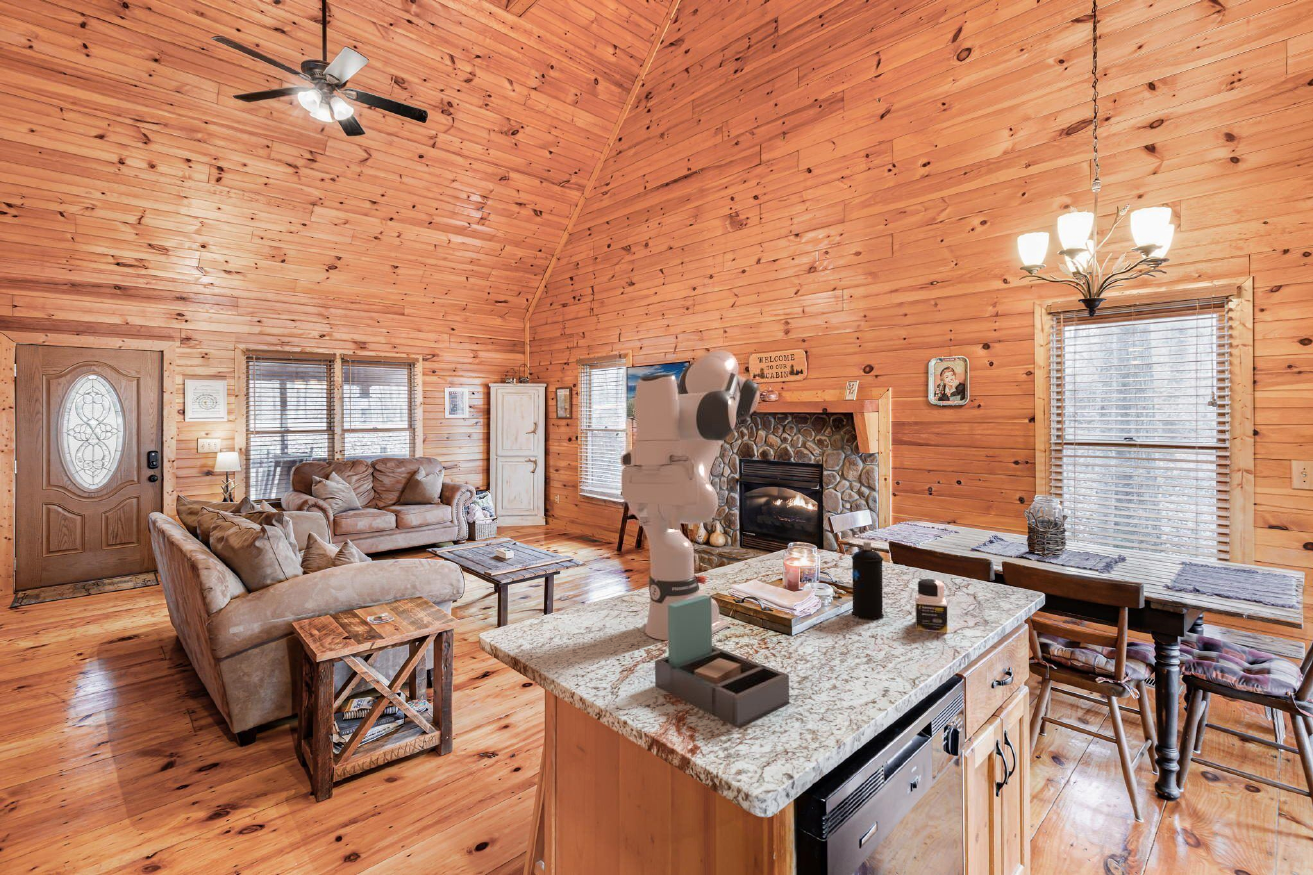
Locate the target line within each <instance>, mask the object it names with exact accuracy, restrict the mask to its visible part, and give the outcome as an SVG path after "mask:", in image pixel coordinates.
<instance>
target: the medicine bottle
mask: <svg viewBox="0 0 1313 875" xmlns="http://www.w3.org/2000/svg"><path fill="white" fill-rule="evenodd" d="M914 605H915V607H914V608H915V610H914V611H915V612H914V613H915V619H914V620H915V629H916V630H917V631H924V632H932V633H940V634H941V633H942V634H943V633H944V634H947V633H948V603H947V601H946V597H945V583H943V582H942V581H940V580H937V579H933V578H924V579H920V580H918V581H917V594H916V595H915V604H914Z"/></svg>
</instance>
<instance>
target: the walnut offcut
mask: <svg viewBox="0 0 1313 875" xmlns="http://www.w3.org/2000/svg"><path fill="white" fill-rule="evenodd" d="M694 675H695V676H697V677H699V678H702V679H704V680H706V681H708V682H711V683H713V684H715V685H716V684H719V683H721V682H724V681H726V680H728V679H731V678H733V677H736V676H738V675H741V664H737V663H734V662H731V661H728V660H724V659H721V658H718V659H716V660H714V661H712V662H710V663H708V664H707V665H705V666H703V667H701V668H699V669H697V670H695V671H694Z"/></svg>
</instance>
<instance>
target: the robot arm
mask: <svg viewBox="0 0 1313 875" xmlns="http://www.w3.org/2000/svg"><path fill="white" fill-rule="evenodd" d="M739 366H740V365H739V363H738V360H737V358H736V357H735V356H734V354H733V353H732V352H730V351H727V350H724V349H717V350H713V351H709V352H708V353H706V354H703V355H702V356H701V357H699V358H698V359H697V360H696V361H695V362H693V363H692V362H691V363H690V364H688V365H686V366H685V368H684V370H683V371H682V372H681V374H680V376H679V380H678V384H677V378H676V375H674V374H671V373H661V374H651V375H644V376H641V377H640V378H639V379H638V381H637V384H636V387H635V388H636V389H635V395H634V421H635V425H636V433H635V434H636V435H635V438H634V447H633V448H631V449H630V450H628V451H627V452H626V453H624V454H621V457H620V465H621V466H622V467H623V468H622V470H621V496H622V498H623V500H624V502H625V503H627V505H628V508H629V510H630V512H631V513H632V514H633V515H634V516H635V517H636V518H637V520H638V525H639V526H640V527H642V529H643V530H644V531H643V532H644V533H645V536H646V538H647V544H648V547H649V561H650V563H649V564H650V567H649V568H650V575H649V576H648V591H649V597H650V598H649V606H648V615H647V620H646V625H645V629H644V633H645V634H646V636H648V637H650V638H653V639H657V640H661V641H662V640H663V641H668V605H669V604H672V603H676V602H680V601H684V600H687V599H691V598H695V597H698V596H702V595H707V596H709V595H708V594H707V593H706V592H705V591H704V590H702V589H701V588H700V585H699V584H701V585H705V584H706V583H707V577H706V576H705V575H701V574H699V575H696V574H695V561H694V560H695V557H694V556H695V555H694V551H695V550H694V545H693V543H692V542H691V541H690V539H689V538H687V537H686V536H685V535H684V534H683V533H682V530H680V529H681V528H682V526H681V524H686V525H696V524H702V523H703V524H705V523H708V522H710V521H712V519H713V518H714V517H715V515H716V513H717V511H718V507H719V497H718V494H717V491H716V489H715V487H714V486H713V485H712V484H711V482H710V472H711V470H712V467H713V464H714V462H715V461H716V460H715V459H716V457H717V455H718V453H719V451H720V449H721V446H722V444H723V441H725V440H727V438H729V437H730V435H731V434H732V433H733V432H734V430H735V427H736V423H737V422H738V421H742V420H745V419H746V418H748V417H750V416H751V415H752V413H753V412H754V411H755V409H756V408H757V406H758V404H759V401H760V387H759V384H758V383H756V382H755V381H754V380H752V379H750V378H745V377H743V376H740V375H739V369H740V367H739ZM711 611H712V635H714V634H715V633H717V632H719V631H721V630H723V629H725V628H727V627H728V626H729V625H730V623H729V621H728V619H726V618H725V617H722V616H720V607H719V605H718V603H717V601H716V600H715V599H714V598H712V597H711Z"/></svg>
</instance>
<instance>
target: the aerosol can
mask: <svg viewBox="0 0 1313 875" xmlns="http://www.w3.org/2000/svg"><path fill="white" fill-rule="evenodd" d="M862 543H863V547H862V549H860V550H858V551H856V552H855V553H854V554H853V555H851V559H852V562H851V563H852V565H851V568H852V611H851V614H852V616H853V615H854V616H853V617H855V618H857V617H858V618H857V619H862V620H870V621H875V620H876V619H877V620H880V619H883V618H884V616H885V615H884V613H883V612H884V611H883V610H884V609H883V608H884V606H883V601H884V600H883V599H884V598H883V560H884V558H883V557H882V555H880V554H879V553H878V552H877V551H876V550H875V551H874V550H873V549H872V542H871V541H863V542H862ZM877 620H876V621H877Z"/></svg>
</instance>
